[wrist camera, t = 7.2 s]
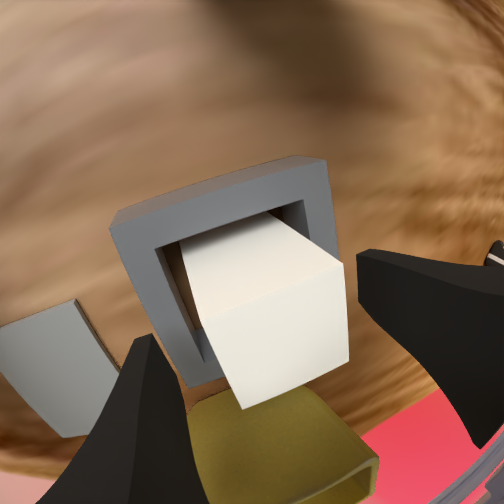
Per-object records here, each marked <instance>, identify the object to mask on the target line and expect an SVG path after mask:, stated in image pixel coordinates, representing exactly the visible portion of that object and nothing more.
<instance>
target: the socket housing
mask: <svg viewBox="0 0 504 504" xmlns="http://www.w3.org/2000/svg"><path fill="white" fill-rule="evenodd" d="M279 206H281V210H282V215H283V219H284V224H286V225H287V226H289V227H290V228H292V229H293V230H295V231H296V232H298V233H299V234H301V235H302V236H304V237H305V238H307V239H308V240H310V241H311V242H313V243H314V244H315V245H317V246H318V247H320V248H321V249H323V250H324V251H326V252H327V253H328V254H330V255H331V256H333V257H334V258H336V259H337V260H339V252H338V243H337V234H336V226H335V218H334V210H333V203H332V196H331V189H330V182H329V176H328V170H327V164H326V160H324V159H318V158H311V157H305V156H298V155H295V156H291V157H287V158H283V159H279V160H275V161H271V162H267V163H264V164H260V165H256V166H253V167H249V168H245V169H242V170H238V171H235V172H232V173H228V174H225V175H221V176H218V177H215V178H212V179H208V180H205V181H202V182H199V183H196V184H193V185H190V186H187V187H184V188H181V189H178V190H175V191H172V192H169V193H166V194H163V195H160V196H157V197H154V198H152V199H149V200H146V201H143V202H141V203H138V204H135V205H133V206H130V207H127V208H125V209H122V210H119V211H118V212H117V214H116V215H115V217H114V219H113V221H112V223H111V225H110V227H109V231H110V233H111V236H112V238H113V241H114V243H115V245H116V248H117V250H118V253H119V255H120V257H121V260H122V262H123V264H124V267H125V269H126V271H127V273H128V275H129V278H130V280H131V282H132V284H133V286H134V288H135V291H136V293H137V295H138V297H139V299H140V301H141V303H142V305H143V307H144V309H145V311H146V313H147V315H148V317H149V319H150V321H151V323H152V325H153V327H154V329H155V331H156V332H157V334H158V336H159V338H160V340H161V342H162V344H163V345H164V347H165V349H166V351H167V353H168V354H169V356H170V358H171V360H172V361H173V363H174V365H175V367H176V368H177V370H178V372H179V373H180V375H181V377H182V378H183V380H184V382H185V383H186V385H187V386H188V388H189V389H190V388H193V387H196V386H199V385H202V384H205V383H208V382H211V381H213V380H216V379H219V378H222V377H225V374H224V372H223V370H222V367H221V365H220V363H219V361H218V359H217V357H216V355H215V353H214V350H213V348H212V346H211V344H210V342H209V339H208V337H207V335H206V333H205V331H204V328H200V329H197V330H195V328H194V326H193V323H192V321H191V319H190V317H189V314H188V312H187V310H186V307H185V305H184V303H183V300H182V298H181V296H180V293H179V291H178V288H177V286H176V283H175V281H174V278H173V276H172V273H171V271H170V268H169V266H168V263H167V261H166V258H165V256H164V253H163V250H162V248H161V246H164V245H167V244H169V243H172V242H175V241H178V240H181V239H184V238H186V237H189V236H192V235H195V234H198V233H201V232H204V231H207V230H210V229H212V228H215V227H218V226H221V225H224V224H227V223H230V222H233V221H236V220H239V219H242V218H245V217H248V216H251V215H254V214H258V213H261V212H264V211H267V210H270V209H273V208H276V207H279Z"/></svg>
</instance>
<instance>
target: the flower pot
mask: <svg viewBox="0 0 504 504" xmlns="http://www.w3.org/2000/svg"><path fill="white" fill-rule="evenodd" d="M187 422H188V428H189V433H190V439H191V444H192V449H193V454H194V459H195V463H196V467H197V471H198V474H199V477H200V480H201V482H202V485H203V488H204V491H205V493H206V496H207V499H208V501H209V503H210V504H358V503H360V502H362V501H363V500H365V499H367V498H368V497H369V496H371V495H373V494H374V492H375V487H376V479H377V472H378V469H379V456H378V455H377V454H376V453H375V452H374V451H373V450H372V449H371V448H370V447H369V446H368V445H367V444H366V443H365V442H364V441H363V440H362V439H361V438H360V437H359V436H358V435H357V434H356V433H355V432H354V431H353V430H352V429H351V428H350V427H349V426H348V425H347V424H346V423H345V422H344V421H343V420H342V419H341V418H340V417H339V416H338V415H337V414H336V413H335V412H334V411H333V410H332V409H331V408H330V407H329V405H328V404H327V403H326V402H325V401H324V400H323V399H322V398H320V397H319V396H318V395H317V394H316V393H315V392H313V391H312V390H311V389H309V388H308V387H306V386H305V385H303V384H302V385H300V386H298V387H296V388H294V389H291V390H289V391H287V392H285V393H282V394H280V395H278V396H275V397H273V398H271V399H268V400H266V401H263V402H261V403H258V404H256V405H253V406H251V407H248V408H246V409H243V410H242V408H241V406H240V404H239V402H238V400H237V398H236V396H235V394H234V392H233V390H232V388H230V389H228V390H225V391H223V392H221V393H218V394H216V395H214V396H211V397H209V398H206V399H204V400H202V401H199V402H198V403H196V404H195V405H194V406H193V408H192V409H191V410H190V412H189V414H188V415H187Z"/></svg>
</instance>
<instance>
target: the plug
mask: <svg viewBox="0 0 504 504" xmlns="http://www.w3.org/2000/svg"><path fill="white" fill-rule="evenodd" d="M179 244H180V248H181V252H182V256H183V260H184V264H185V268H186V272H187V275H188V279H189V283H190V287H191V290H192V294H193V297H194V301H195V304H196V308H197V311H198V315H199V318H200V321H201V324H202V326H203V328H204V331H205V333H206V335H207V337H208V339H209V342H210V344H211V346H212V348H213V350H214V353H215V355H216V357H217V359H218V361H219V363H220V365H221V367H222V370H223V372H224V374H225V376H226V378H227V380H228V382H229V384H230V386H231V388H232V390H233V392H234V394H235V396H236V398H237V400H238V402H239V404H240V406H241V408H242V410H243V409H246V408H248V407H251V406H253V405H256V404H258V403H261V402H263V401H266V400H268V399H271V398H273V397H275V396H278V395H280V394H282V393H285V392H287V391H289V390H291V389H294V388H296V387H298V386H300V385H302V384H304V383H307V382H309V381H311V380H313V379H315V378H317V377H319V376H321V375H323V374H325V373H327V372H329V371H331V370H333V369H335V368H337V367H339V366H341V365H343V364H344V363H346V362H348V361H349V346H348V323H347V306H346V292H345V280H344V269H343V263H341V262H340V261H339V260H337V259H336V258H334V257H333V256H331V255H330V254H328V253H327V252H326V251H324V250H323V249H321V248H320V247H318V246H317V245H315V244H314V243H313V242H311V241H310V240H308V239H307V238H305V237H304V236H302V235H301V234H299V233H298V232H296V231H295V230H293V229H292V228H290V227H289V226H287V225H286V224H284V223H283V222H281V221H280V220H278V219H277V218H275V217H274V216H272V215H271V214H269V213H268V212H266V211H265V212H262V213H259V214H256V215H253V216H250V217H247V218H244V219H241V220H238V221H235V222H233V223H230V224H227V225H224V226H221V227H218V228H215V229H212V230H210V231H207V232H204V233H201V234H198V235H196V236H193V237H190V238H187V239H185V240H182V241H179Z"/></svg>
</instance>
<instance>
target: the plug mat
mask: <svg viewBox="0 0 504 504" xmlns="http://www.w3.org/2000/svg"><path fill="white" fill-rule="evenodd" d="M0 372H1V373H2V374H3V376H4V377H5V378H6V379H7V381H8V382H9V383H10V384H11V385H12V387H13V388H14V389H15V390H16V391H17V392H18V393H19V395H20V396H21V397H22V398H23V399H24V400H25V401H26V402H27V403H28V404H29V406H30V407H31V408H32V409H33V410H34V411H35V412H36V413H37V414H38V415H39V416H40V417H41V418H42V419H43V420H44V421H45V422H46V423H47V424H48V425H49V426H50V427H51V428H53V429H54V430H55V431H56V432H57V433H58V434H59V435H60V436H61V437H62V438H67V437H74V436H81V435H87V434H89V433H90V432H91V430H92V428H93V427H94V425H95V423H96V421H97V419H98V418H99V416H100V414H101V412H102V410H103V408H104V406H105V403H106V401H107V399H108V397H109V395H110V393H111V391H112V389H113V387H114V385H115V382H116V380H117V378H118V376H119V373H120V369H119V368H118V367H117V365H116V364H115V362H114V361H113V359H112V358H111V356H110V355H109V353H108V352H107V350H106V349H105V347H104V346H103V344H102V343H101V341H100V340H99V338H98V336H97V335H96V333H95V332H94V330H93V328H92V327H91V325H90V323H89V322H88V320H87V318H86V317H85V315H84V313H83V311H82V310H81V308H80V306H79V304H78V302H77V301H76V299H73V300H70V301H68V302H65V303H62V304H60V305H57V306H55V307H52V308H49V309H47V310H44V311H41V312H39V313H36V314H34V315H31V316H28V317H26V318H23V319H21V320H18V321H15V322H13V323H10V324H8V325H5V326H3V327H0Z"/></svg>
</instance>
